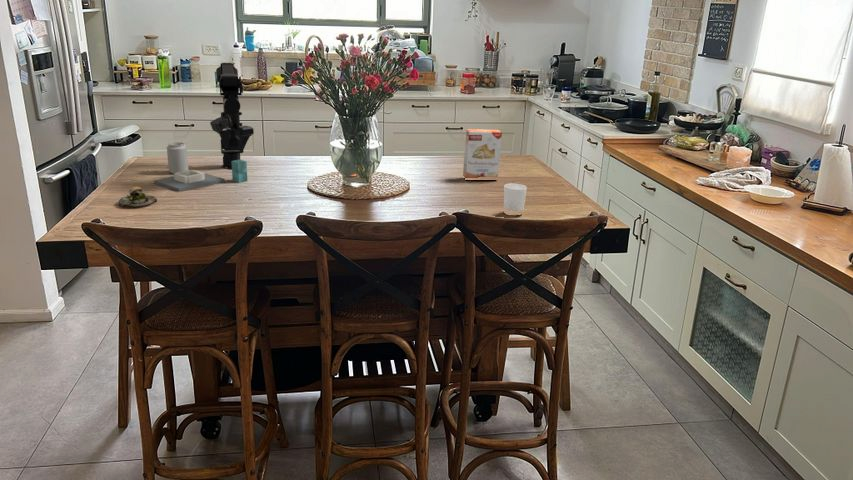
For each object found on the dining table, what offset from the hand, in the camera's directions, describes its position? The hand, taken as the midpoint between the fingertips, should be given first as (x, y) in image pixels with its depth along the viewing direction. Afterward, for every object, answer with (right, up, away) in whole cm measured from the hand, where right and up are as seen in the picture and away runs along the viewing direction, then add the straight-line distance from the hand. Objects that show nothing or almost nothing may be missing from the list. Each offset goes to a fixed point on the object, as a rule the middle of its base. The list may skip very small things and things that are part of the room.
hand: (233, 150), depth 255 cm
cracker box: (+97, -9, +23) cm, 100 cm away
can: (-26, -8, +12) cm, 30 cm away
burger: (-25, -23, -28) cm, 44 cm away
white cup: (+105, -25, -20) cm, 110 cm away
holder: (-17, -13, -1) cm, 21 cm away
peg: (+1, -12, +4) cm, 12 cm away
